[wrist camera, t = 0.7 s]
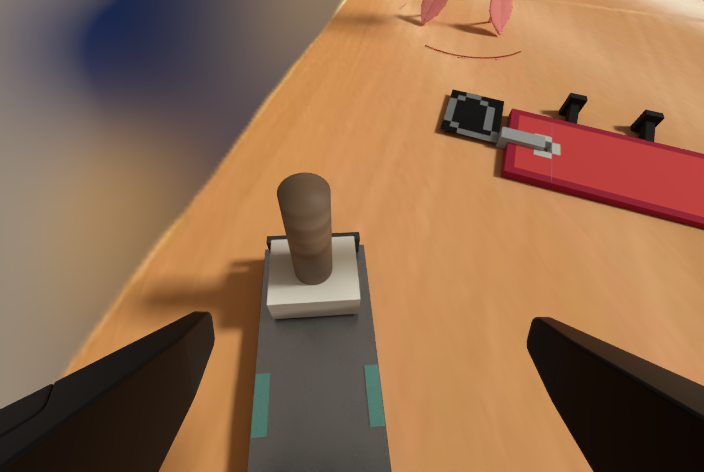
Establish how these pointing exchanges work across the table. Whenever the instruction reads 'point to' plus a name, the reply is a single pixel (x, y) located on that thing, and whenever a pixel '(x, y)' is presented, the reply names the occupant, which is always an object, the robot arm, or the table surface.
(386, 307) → the table surface
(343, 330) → the rail
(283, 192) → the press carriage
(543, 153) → the red board with handle
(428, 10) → the figurine
